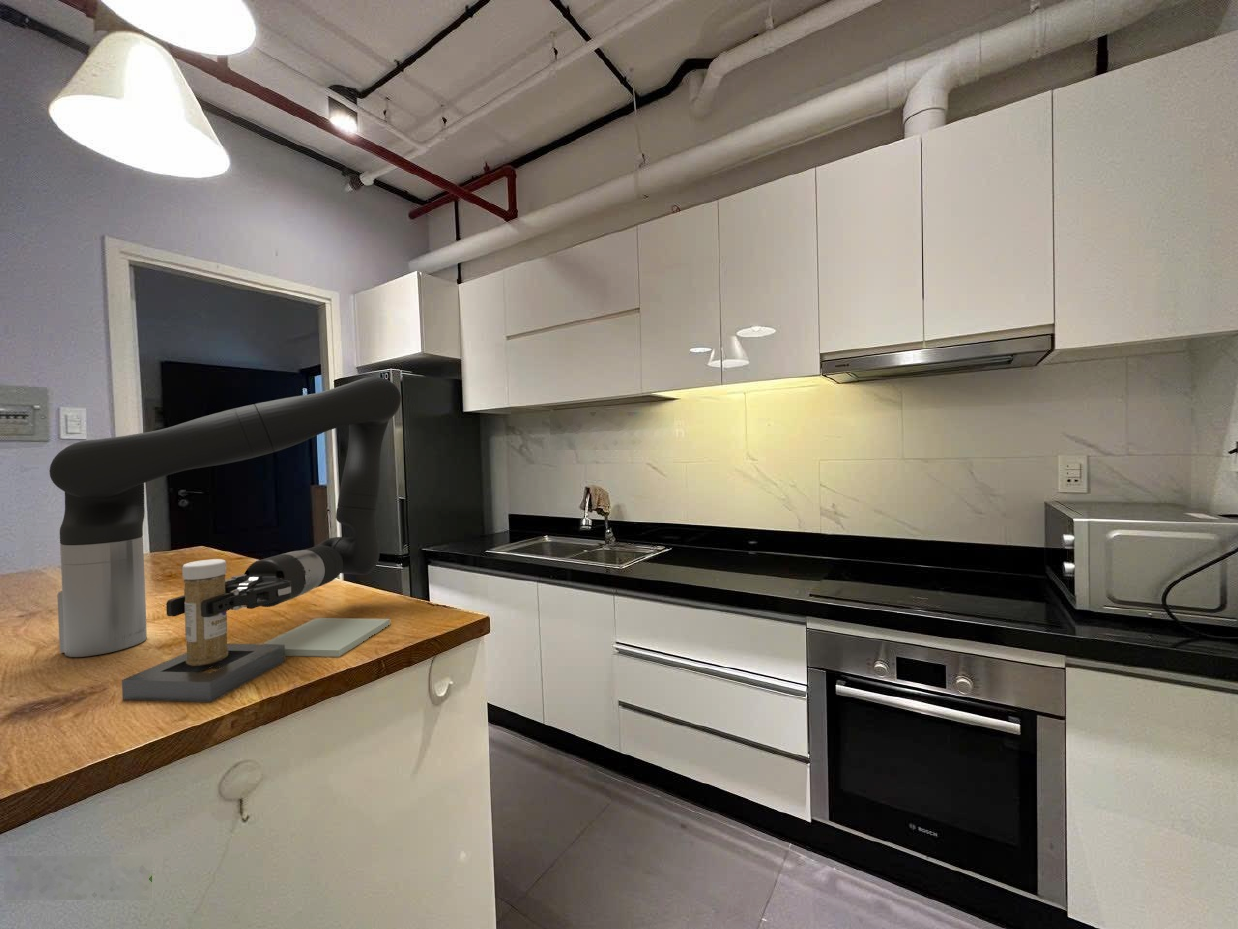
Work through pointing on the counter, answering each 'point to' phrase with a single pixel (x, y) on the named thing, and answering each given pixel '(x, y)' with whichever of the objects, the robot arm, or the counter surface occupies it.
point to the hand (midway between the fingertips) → (186, 609)
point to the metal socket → (203, 675)
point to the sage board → (328, 636)
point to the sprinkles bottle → (200, 632)
